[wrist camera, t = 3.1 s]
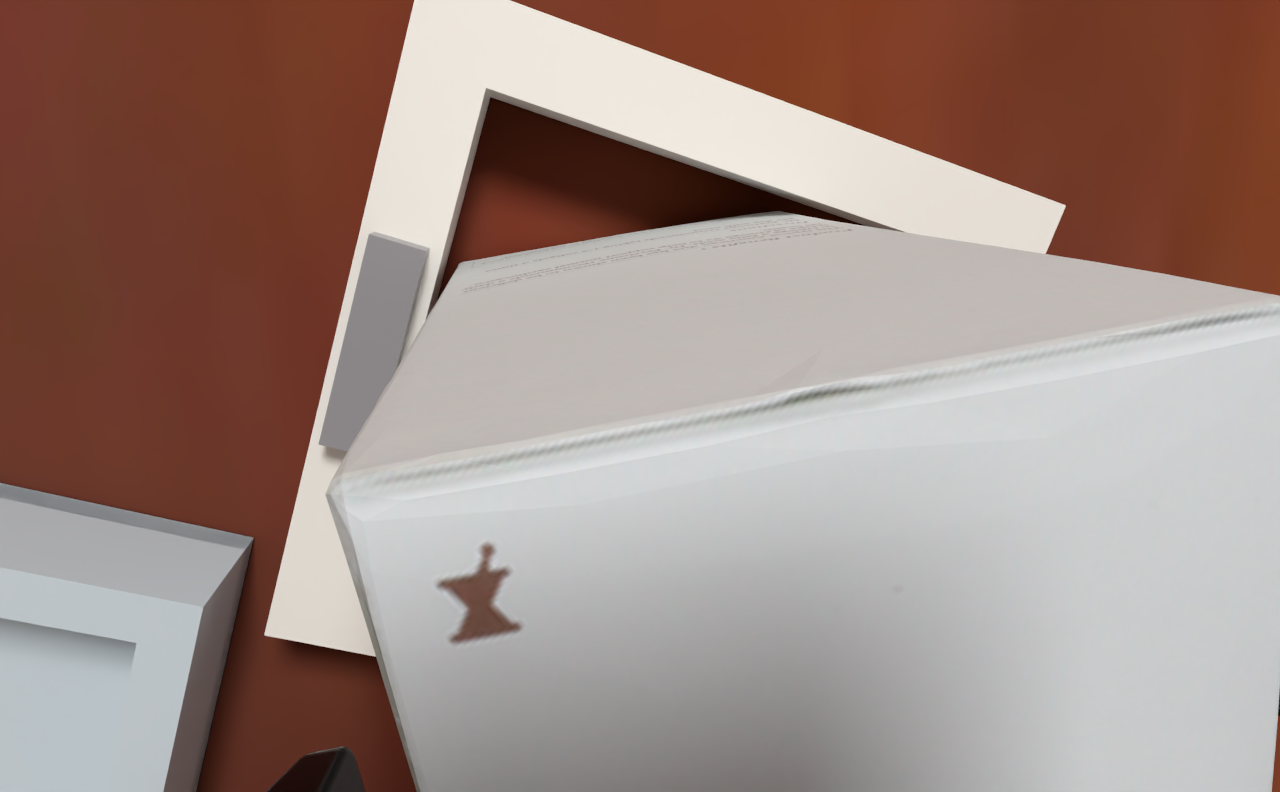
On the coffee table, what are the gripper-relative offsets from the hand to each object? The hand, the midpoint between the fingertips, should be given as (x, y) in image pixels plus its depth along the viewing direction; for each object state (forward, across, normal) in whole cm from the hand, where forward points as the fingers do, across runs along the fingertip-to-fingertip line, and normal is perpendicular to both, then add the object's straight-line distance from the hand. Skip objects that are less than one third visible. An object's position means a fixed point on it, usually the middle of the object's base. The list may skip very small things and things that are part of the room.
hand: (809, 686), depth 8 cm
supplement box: (+11, 0, 0) cm, 11 cm away
